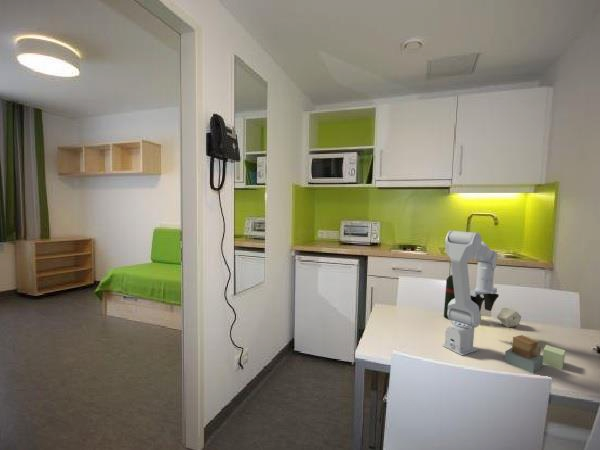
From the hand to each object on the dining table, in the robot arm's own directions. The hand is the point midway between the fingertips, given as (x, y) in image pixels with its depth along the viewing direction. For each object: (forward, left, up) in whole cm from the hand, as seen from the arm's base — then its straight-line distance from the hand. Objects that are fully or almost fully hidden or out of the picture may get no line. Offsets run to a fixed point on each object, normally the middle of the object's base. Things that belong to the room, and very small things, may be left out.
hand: (482, 311), depth 119 cm
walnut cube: (-9, -20, -6) cm, 23 cm away
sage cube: (+1, -24, -10) cm, 26 cm away
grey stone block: (+22, +1, -10) cm, 24 cm away
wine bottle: (+7, +16, -10) cm, 20 cm away
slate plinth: (-9, -20, -10) cm, 24 cm away
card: (+6, -14, -10) cm, 18 cm away
